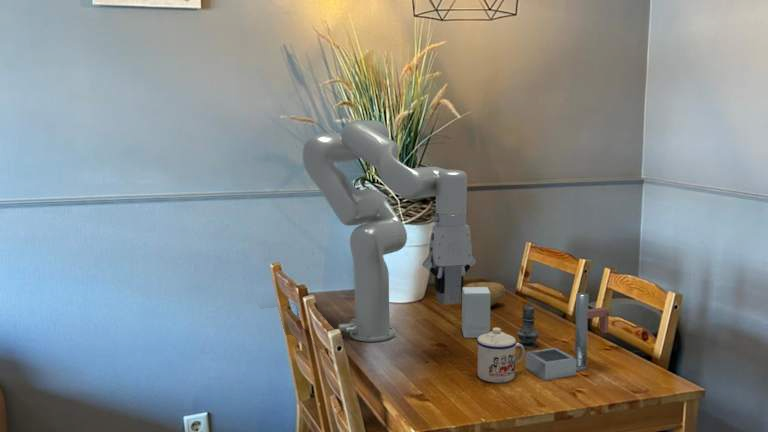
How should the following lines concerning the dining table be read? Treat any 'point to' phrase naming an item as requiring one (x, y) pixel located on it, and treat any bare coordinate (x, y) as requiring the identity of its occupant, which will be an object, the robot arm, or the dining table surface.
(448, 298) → the grey tall block
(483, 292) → the supplement box
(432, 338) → the dining table surface
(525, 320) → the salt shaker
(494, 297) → the potato
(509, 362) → the teacup with lid
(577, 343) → the water pump with trough
